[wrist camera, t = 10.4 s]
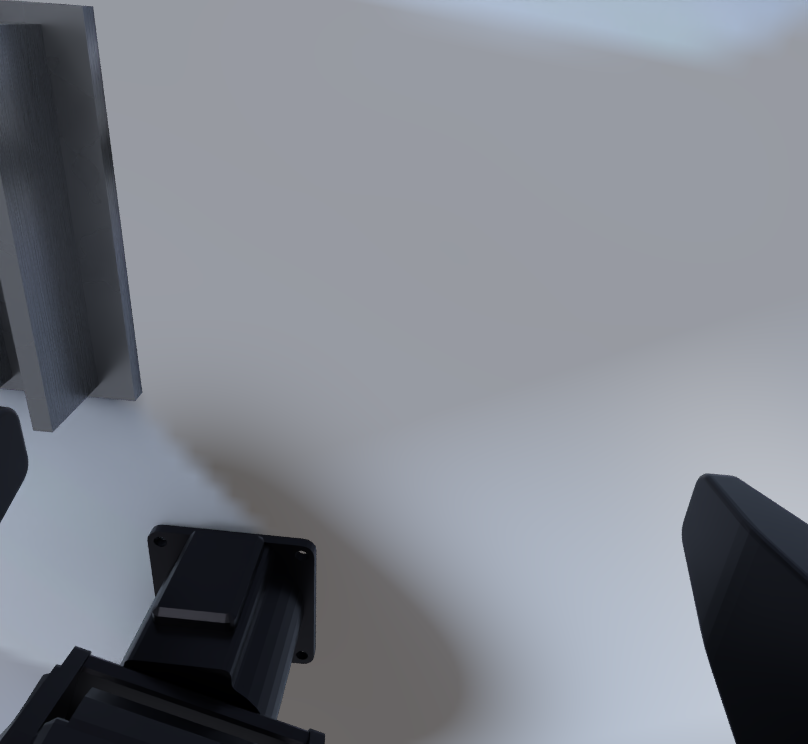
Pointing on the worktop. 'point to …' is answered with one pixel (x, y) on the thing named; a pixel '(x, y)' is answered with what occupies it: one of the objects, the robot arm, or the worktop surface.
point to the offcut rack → (59, 219)
